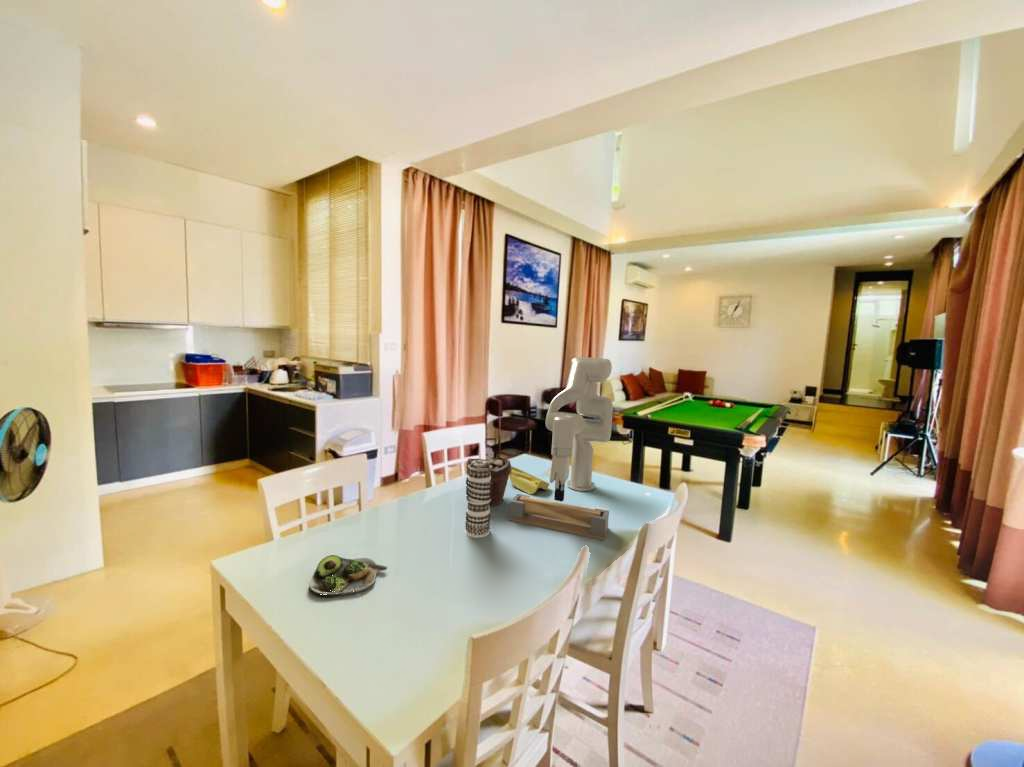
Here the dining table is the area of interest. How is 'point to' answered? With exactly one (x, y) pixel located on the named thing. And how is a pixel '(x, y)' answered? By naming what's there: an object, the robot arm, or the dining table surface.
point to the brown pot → (496, 477)
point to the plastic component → (526, 481)
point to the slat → (559, 510)
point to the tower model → (478, 499)
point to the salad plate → (343, 575)
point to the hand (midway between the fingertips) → (559, 499)
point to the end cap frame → (560, 521)
